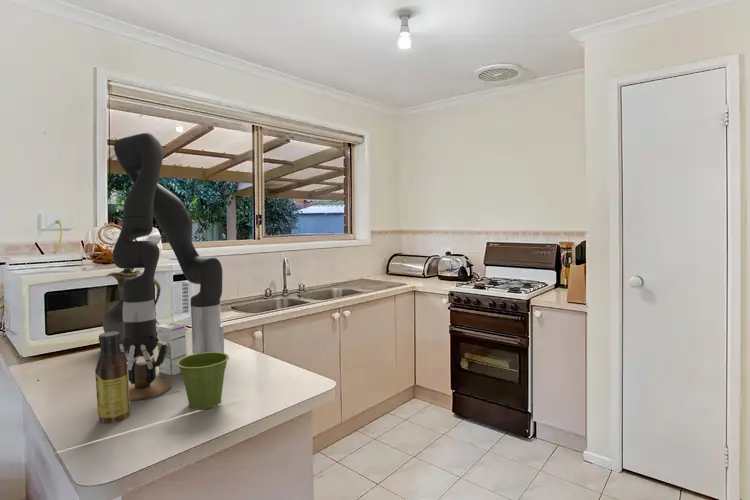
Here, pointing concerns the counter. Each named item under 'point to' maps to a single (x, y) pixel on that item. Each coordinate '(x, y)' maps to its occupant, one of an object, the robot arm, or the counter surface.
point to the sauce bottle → (112, 380)
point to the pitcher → (121, 304)
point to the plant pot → (203, 378)
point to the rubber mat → (172, 390)
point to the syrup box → (172, 346)
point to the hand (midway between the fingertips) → (142, 382)
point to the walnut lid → (146, 384)
